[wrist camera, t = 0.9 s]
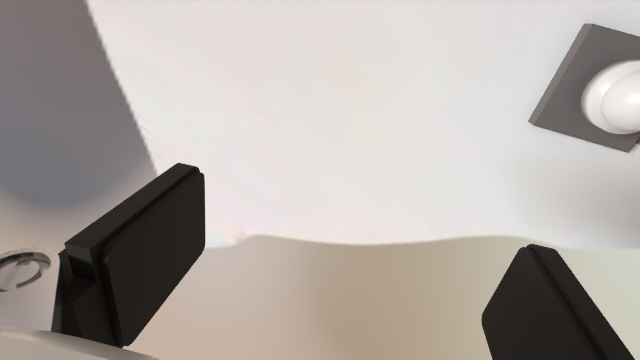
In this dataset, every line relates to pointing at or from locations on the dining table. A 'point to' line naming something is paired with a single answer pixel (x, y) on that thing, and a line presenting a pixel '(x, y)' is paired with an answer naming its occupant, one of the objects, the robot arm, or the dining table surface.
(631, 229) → the dining table surface
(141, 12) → the dining table surface
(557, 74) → the dome base
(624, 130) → the dome
